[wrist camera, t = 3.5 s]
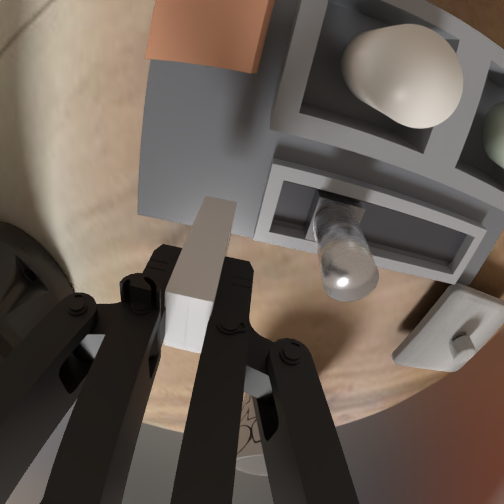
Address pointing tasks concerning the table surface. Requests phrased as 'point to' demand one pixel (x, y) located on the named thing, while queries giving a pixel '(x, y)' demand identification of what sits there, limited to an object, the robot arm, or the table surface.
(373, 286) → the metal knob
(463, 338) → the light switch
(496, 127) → the sage button
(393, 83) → the white button
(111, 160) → the table surface
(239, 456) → the mug
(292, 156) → the panel
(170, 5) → the block
